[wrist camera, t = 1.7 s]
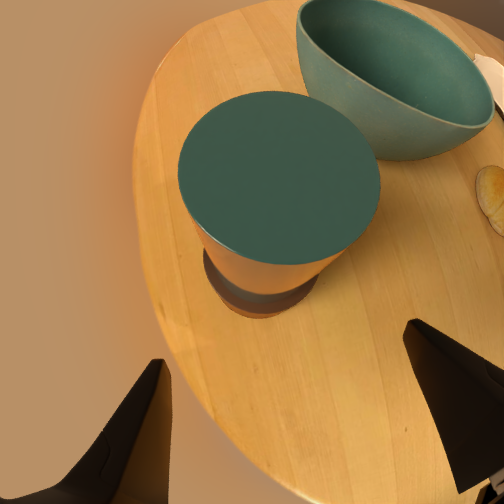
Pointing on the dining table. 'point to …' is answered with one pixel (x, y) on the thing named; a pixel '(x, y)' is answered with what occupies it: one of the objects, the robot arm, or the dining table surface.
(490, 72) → the plate
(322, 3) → the teal bowl
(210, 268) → the stand
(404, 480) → the dining table surface
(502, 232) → the bread roll
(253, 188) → the teal cylinder
